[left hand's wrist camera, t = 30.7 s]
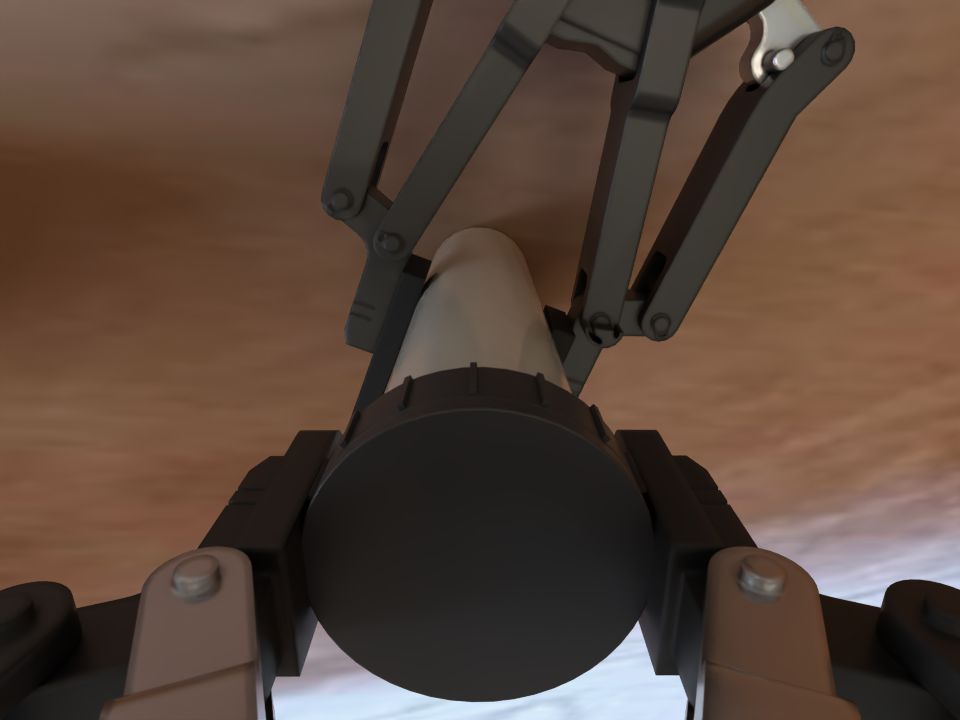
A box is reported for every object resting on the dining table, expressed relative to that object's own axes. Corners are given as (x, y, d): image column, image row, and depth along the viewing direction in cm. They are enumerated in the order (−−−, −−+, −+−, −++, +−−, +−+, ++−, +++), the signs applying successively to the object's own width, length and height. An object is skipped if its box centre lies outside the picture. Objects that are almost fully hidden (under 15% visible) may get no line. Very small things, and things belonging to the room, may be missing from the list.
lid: (520, 297, 9) (528, 328, 8) (690, 539, 11) (724, 605, 9) (256, 475, 10) (218, 533, 9) (445, 673, 12) (440, 751, 10)
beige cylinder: (545, 253, 27) (658, 467, 10) (501, 338, 28) (536, 656, 11) (454, 210, 26) (407, 360, 9) (414, 299, 27) (311, 574, 11)
